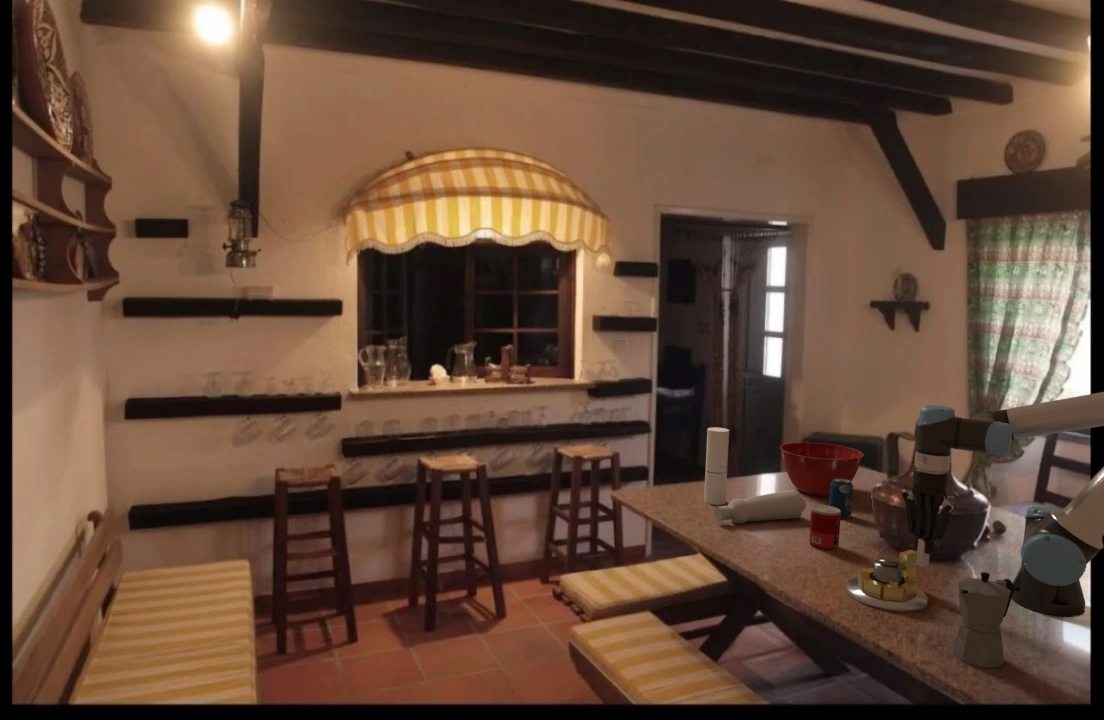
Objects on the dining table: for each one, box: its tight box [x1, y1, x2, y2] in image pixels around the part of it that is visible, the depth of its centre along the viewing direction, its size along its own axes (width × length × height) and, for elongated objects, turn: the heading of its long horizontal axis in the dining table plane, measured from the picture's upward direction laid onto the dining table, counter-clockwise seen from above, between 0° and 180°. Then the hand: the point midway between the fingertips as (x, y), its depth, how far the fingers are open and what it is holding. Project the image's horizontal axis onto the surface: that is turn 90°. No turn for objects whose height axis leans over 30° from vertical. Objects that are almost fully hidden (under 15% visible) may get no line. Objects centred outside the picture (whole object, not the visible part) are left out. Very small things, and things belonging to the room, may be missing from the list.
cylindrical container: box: [703, 427, 730, 506], centre depth 260 cm, size 7×7×25 cm
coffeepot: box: [951, 571, 1015, 669], centre depth 155 cm, size 15×9×18 cm, turn 114°
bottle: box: [713, 488, 807, 525], centre depth 241 cm, size 9×9×30 cm
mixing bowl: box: [779, 441, 865, 497], centre depth 276 cm, size 28×28×15 cm
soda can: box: [828, 478, 854, 519], centre depth 248 cm, size 7×7×12 cm
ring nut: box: [857, 549, 918, 601], centre depth 186 cm, size 12×17×8 cm
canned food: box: [808, 504, 841, 551], centre depth 219 cm, size 8×8×11 cm
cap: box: [846, 556, 928, 613], centre depth 185 cm, size 18×18×9 cm
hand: (922, 564), depth 186 cm, fingers closed
